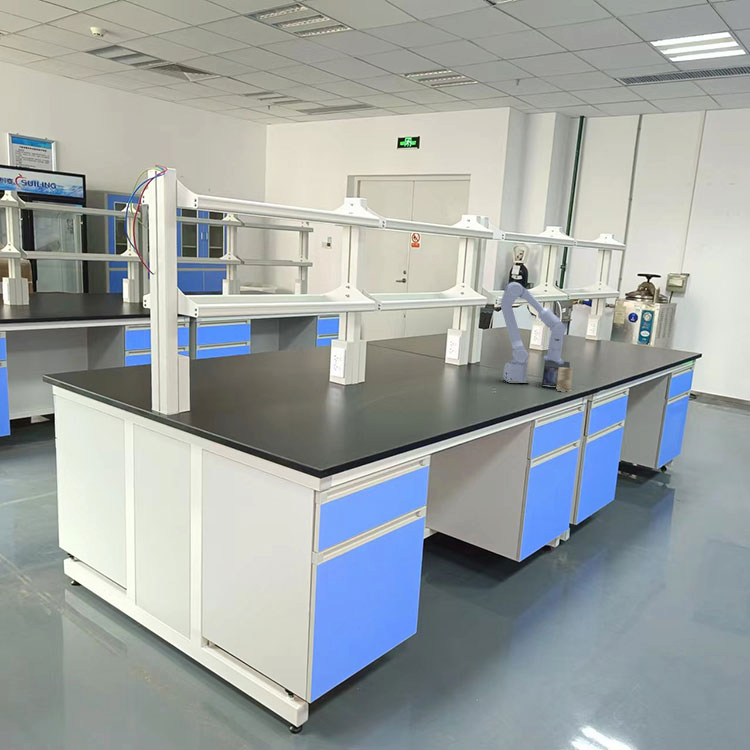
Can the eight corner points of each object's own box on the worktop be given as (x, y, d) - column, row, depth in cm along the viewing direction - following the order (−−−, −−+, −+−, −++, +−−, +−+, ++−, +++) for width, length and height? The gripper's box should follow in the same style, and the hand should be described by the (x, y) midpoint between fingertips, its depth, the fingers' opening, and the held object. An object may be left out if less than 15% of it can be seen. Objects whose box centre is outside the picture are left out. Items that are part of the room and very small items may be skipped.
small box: (541, 387, 282) (544, 365, 277) (542, 380, 288) (544, 359, 283) (567, 390, 279) (569, 368, 275) (567, 382, 285) (569, 361, 280)
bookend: (559, 392, 273) (562, 368, 271) (555, 390, 276) (558, 367, 274) (572, 392, 274) (575, 369, 272) (568, 391, 277) (571, 367, 275)
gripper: (571, 352, 278) (567, 383, 281) (555, 346, 292) (551, 376, 294) (556, 351, 276) (552, 382, 279) (541, 345, 290) (536, 375, 293)
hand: (550, 379), depth 287 cm, fingers closed, pressing on small box
